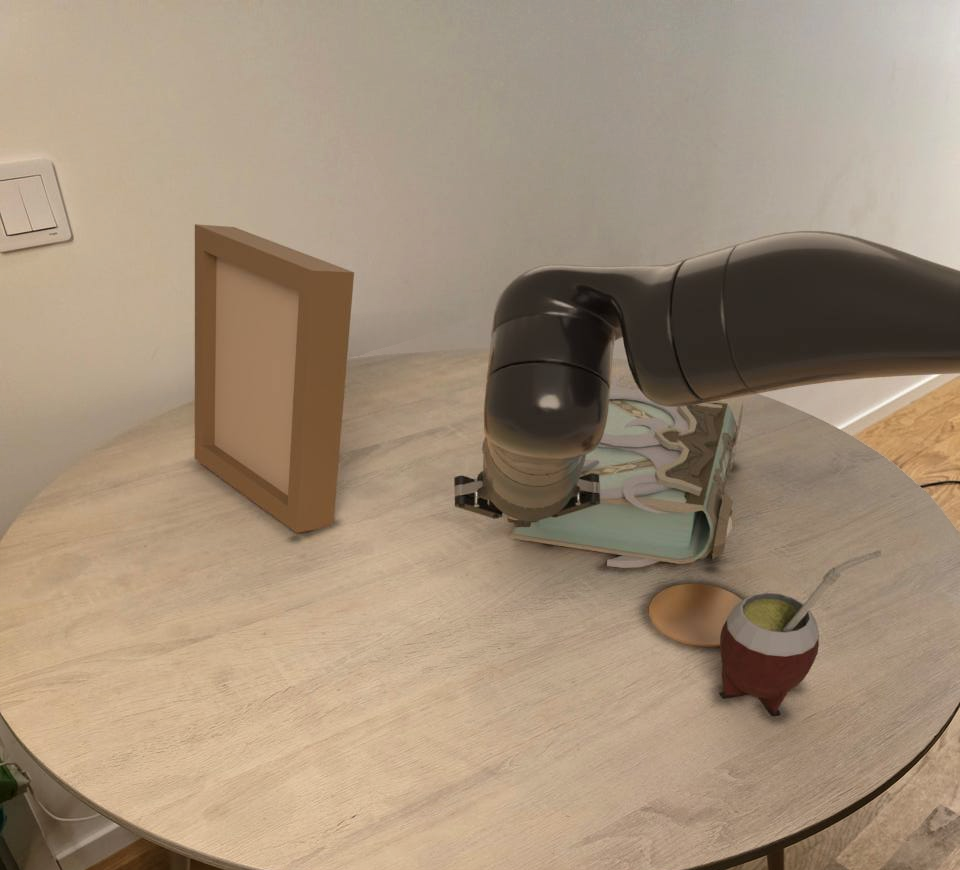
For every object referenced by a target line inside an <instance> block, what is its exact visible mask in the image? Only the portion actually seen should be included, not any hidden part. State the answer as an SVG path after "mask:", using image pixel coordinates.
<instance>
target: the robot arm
mask: <svg viewBox="0 0 960 870" xmlns="http://www.w3.org/2000/svg"><path fill="white" fill-rule="evenodd" d="M493 309H494V310H493V315H492V325H491V334H490V344H489V345H490V346H489V355H488V365H487V374H486V383H485V393H484V405H483V431H484V439H483V443H482V448H481V450H482V471H480V473H478V475H477V477H475V478H472V477H469V476H466V475H458V476H454V477H453V478H454V479H453V480H454V483H453V484H454V485H453V487H454V507H456V508H458V509H461V510H465V511H467V512H471V513H475V514H478V515H480V516H485V517H487V518H490V519H494V520H497V519H500V518H503V516H504V515H506V516H507V522H508V523H509V524H514V527H522V526H523V527H530V526H531V522H537V521H538V520H543V519H546V518H549V517H553V518H556V517H559V516H562V515H565V514H569V513H572V512H575V511H578V510H582V509H585V508H588V507H591V506H595V505H598V504H600V482H599V474H595V473H590V474H587V475H584V476H582V477H580V474H581V472H582V469H583V466H584V462H585V458H586V454H588V453H590V452H592V451H593V450H595V449H596V448H597V447H598V445H599V444H600V442H601V440H602V437H603V434H604V430H605V426H606V422H607V416H608V408H609V397H610V384H611V381H612V372H613V371H612V370H613V361H614V349H615V342H616V341H618V340H620V339H622V341H623V347H624V351H625V355H626V361H627V365H628V367H629V370H630V373H631V376H632V378H633V381H634V383H635V384H636V386H637V388H638V390H640V391H641V392H642V393H643V394H644V395H645V397H647V398H648V399H649V400H650V401H652V402H654V403H655V404H658V405H661V406H666V407H680V406H689V405H695V404H701V403H706V402H710V401H717V400H720V401H723V400H727V399H733V398H734V399H735V398H740V397H744V396H745V397H746V396H752V395H756V394H763V393H767V392H773V391H778V390H786V389H791V388H796V387H803V386H810V385H817V384H825V383H832V382H841V381H850V380H851V381H852V380H863V379H876V378H892V377H908V376H912V377H913V376H929V375H930V376H931V375H932V376H933V375H950V374H952V375H953V374H960V270H958V269H955V268H953V267H950V266H946V265H944V264H943V265H942V264H940V263H937V262H934V261H931V260H928V259H925V258H922V257H920V256H917V255H914V254H911V253H908V252H906V251H903V250H900V249H897V248H894V247H892V246H888V245H885V244H883V243H878V242H876V241H873V240H870V239H866V238H863V237H859V236H855V235H850V234H845V233H842V232H833V231H826V230H797V231H786V232H780V233H775V234H770V235H769V234H768V235H765V236H761V237H758V238H757V237H756V238H753V239H750V240H747V241H744V242H741V243H737V244H734V245H730V246H726V247H723V248H719V249H716V250H713V251H709V252H706V253H702V254H699V255H696V256H692V257H689V258H685V259H682V260H678V261H675V262H672V263H666V264H653V265H652V264H651V265H649V264H648V265H607V266H606V265H579V264H544V265H540V266H539V265H538V266H535V267H532V268H531V269H528V270H526V271H524V272H523V273H521V274H519V275H518V276H517V277H515V278H514V279H513V280H511V282H510V283H508V284H507V286H506V287H504V289H503V291H502V292H500V294H499V296H498V298H497V300H496V303H495V306H494V308H493ZM503 514H504V515H503Z"/></svg>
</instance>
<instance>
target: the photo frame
mask: <svg viewBox="0 0 960 870" xmlns="http://www.w3.org/2000/svg"><path fill="white" fill-rule="evenodd" d="M354 278H355V272H354V271H353V270H349V269H347V268H344V267H342V266H339V265H336V264H333V263H331V262H328V261H325V260H322V259H320V258H317V257H315V256H312V255H309V254H307V253H304V252H302V251H299V250H296V249H293V248H291V247H288V246H286V245H283V244H280V243H278V242H275V241H273V240H269V239H267V238H264V237H261V236H259V235H256V234H254V233H251V232H248V231H246V230H243V229H240V228H238V227H235V226H226V225H224V226H223V225H212V224H210V225H209V224H199V223H198V224H197V223H195V224H194V459H195V460H196V461H197V462H199V463H200V464H201V465H203V466H204V467H205V468H207V469H208V470H209V471H211V472H212V473H213V474H215V475H216V476H218V477H219V478H220V479H222V480H223V481H224V482H226V483H227V484H229V485H230V486H232V487H233V488H234V489H235V490H237V491H238V492H240V493H241V494H242V495H244V496H245V497H246V498H248V499H249V500H250V501H252V502H253V503H254V504H256V505H258V506H259V507H260V508H261V509H263V510H264V511H266V512H267V513H268V514H270V515H271V516H273V517H274V518H275V519H277V520H278V521H279V522H281V523H282V524H283V525H284V526H286V527H287V528H289V529H290V530H291V531H293V532H295V534H299V533H304V532H310V531H316V530H320V529H322V528H325V527H327V526H329V525H332V524H334V523H335V511H336V499H337V498H336V497H337V485H338V473H339V463H340V462H339V461H340V449H341V437H342V425H343V411H344V401H345V387H346V378H347V376H346V375H347V364H348V353H349V341H350V328H351V318H352V317H351V316H352V304H353V291H354V280H355V279H354Z"/></svg>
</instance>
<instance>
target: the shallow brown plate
mask: <svg viewBox="0 0 960 870" xmlns="http://www.w3.org/2000/svg"><path fill="white" fill-rule="evenodd" d="M742 600H743V598H741V597H740V596H738V595H737V594H735V593H733V592H730V591H729V590H727V589H723V588H721V587H718V586H713V585H710V584H701V583H684V584H677V585H672V586H670V587H667V588H665V589H662V590H661V591H658V593H657V594H655V595H654V596H653V598H652V599H651V601H650V602H649V606H648V616H649V619H650V622H651V624H652V625H653V626H654V627H655V628H656V629H657V630H658V631H659V632H660V633H661V634H663V635H665V636H666V637H668V638H669V639H672V640H673V641H676V642H679V643H682V644H685V645H688V646H693V647H698V648H699V647H701V648H720V636H721V631H722V628H723V626H724V624H725V622H726V620H727V617H728V615H729V614H730V612H731V611H732V609H733V608H734V607H735V606H736V605H737V604H738V603H739V602H741V601H742Z"/></svg>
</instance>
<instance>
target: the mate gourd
mask: <svg viewBox="0 0 960 870" xmlns="http://www.w3.org/2000/svg"><path fill="white" fill-rule="evenodd" d="M881 555H882V550H881V549H880V550H876V551H873V552H869V553H866V554H863V555H859V556H857V557H853V558H850V559H848V560H846V561H844V562H842V563H840V564H838V565H837V566H835V567H831V568H830V569H829V570H828V571H827V572H826V574H825V575H823V577H822V581H821V582H820V583H819V584H818V586H817V587H816V588H815V590H814V591H813V592H812V594H811V595H809V597H808V598H807V600H806V601H805V602H804V603H803V602H801V601H799V600H798V599H796V598H795V597H793V596H790V595H786V594H782V593H775V592H761V593H754V594H752V595H750V596H748V597H745V598H743V599H742V601H741V602H739V603H738V604H737V605H736V606H735V607H734V608H733V609H732V611H731V612H730V614H729V615H728V617H727V620H726V622H725V624H724V626H723V628H722V631H721V636H720V647H719V648H720V650H719V651H720V662H721V681H722V686H723V691H720V692H718V693H719V696H720V698H721V699H723V700H726V699H733V698H739V697H744V696H753V697H756V698H757V699H758V700H759V701H760V703H761V704H762V705H763V707H764V708H765V709H766V711H767V712H768V714H769V715H770V716H771V717H774V718H775V717H780V716H781V712H780V711H779V708H780V706H781V704H782V703H783V701H784V700H785V698H786V696H787V694H788V692H789V691H791V690H793V689H794V688H796V687H797V686H799V685H800V684H801V683H802V682H803V681H804V680H805V678H806V677H807V675H808V674H809V672H810V670H811V668H812V666H813V665H814V663H815V661H816V658H817V656H818V654H819V653H818V652H819V647H820V640H819V638H820V631H819V627H818V623H817V620H816V618H815V616H814V614H813V612H811V609H812V607H813V606H814V605H815V604H816V603H817V602H818V600H819V599H820V598H821V596H822V595H823V594H824V593H825V591H827V589H828V588H829V586H832V585H833V584H834V583H835V582H836V581H837V580H838V579H839V578H840V577H841V574H842V573H843V572H846V571H847V570H849V569H850V568H853V567H855V566H858V565H861V564H862V563H863V564H864V563H865V562H868V561H870V560H873V559H876V558H879V557H880V556H881Z"/></svg>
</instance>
